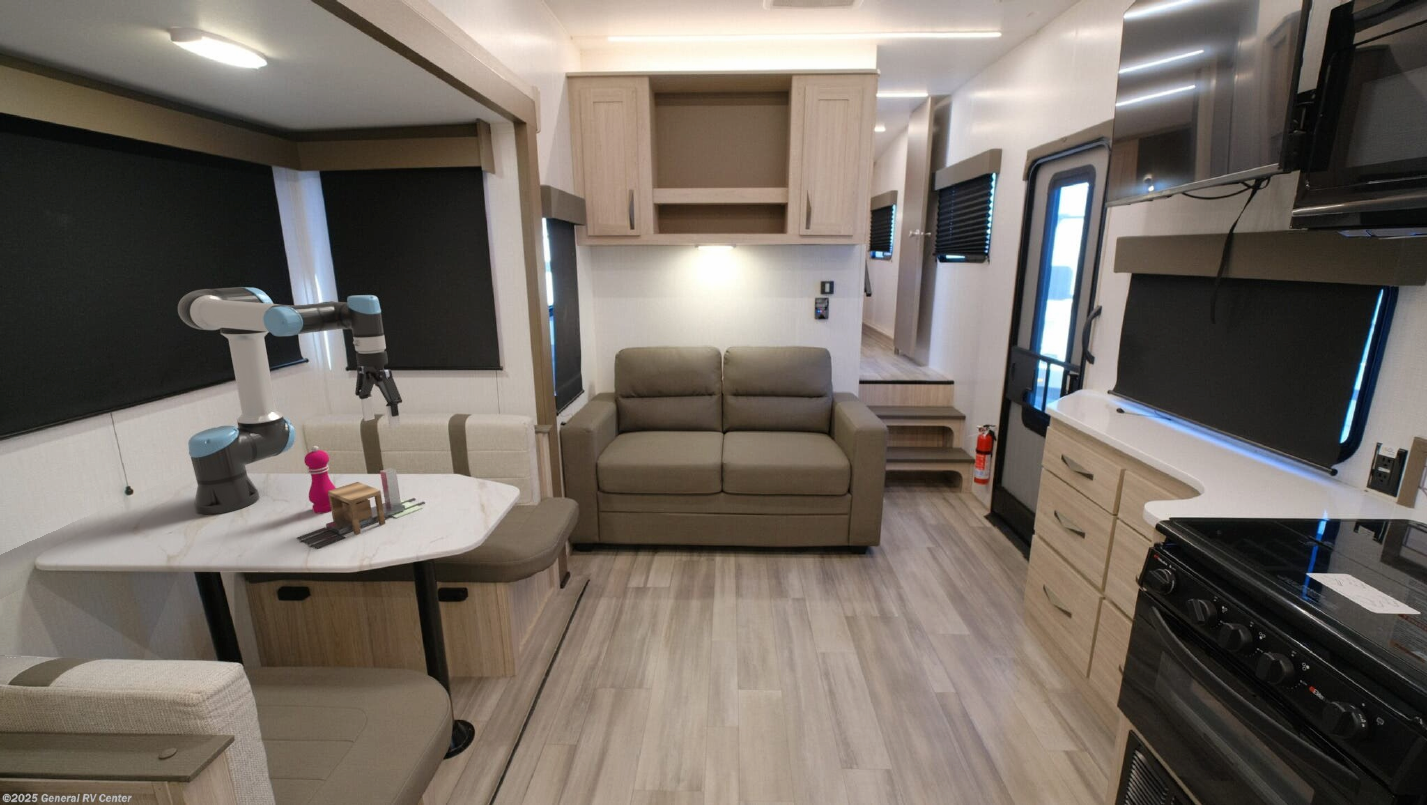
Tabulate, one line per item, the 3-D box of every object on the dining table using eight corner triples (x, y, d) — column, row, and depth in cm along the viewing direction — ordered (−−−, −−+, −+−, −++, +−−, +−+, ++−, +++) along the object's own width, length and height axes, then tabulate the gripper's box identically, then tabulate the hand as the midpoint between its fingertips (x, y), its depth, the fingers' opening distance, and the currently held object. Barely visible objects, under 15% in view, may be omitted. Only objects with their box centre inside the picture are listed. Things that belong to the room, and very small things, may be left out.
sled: (326, 528, 158) (318, 487, 155) (392, 504, 173) (386, 466, 170) (339, 534, 154) (332, 492, 151) (405, 509, 170) (399, 471, 167)
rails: (299, 541, 152) (299, 539, 152) (414, 499, 179) (413, 497, 178) (310, 547, 149) (310, 545, 149) (425, 503, 176) (424, 502, 175)
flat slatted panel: (297, 538, 154) (296, 537, 154) (325, 528, 160) (324, 527, 160) (317, 549, 148) (317, 548, 148) (345, 538, 154) (345, 537, 154)
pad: (375, 509, 171) (375, 508, 171) (401, 500, 178) (401, 499, 178) (396, 518, 166) (396, 517, 166) (422, 508, 172) (422, 507, 172)
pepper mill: (325, 515, 168) (314, 451, 163) (305, 512, 169) (293, 449, 164) (345, 504, 174) (335, 443, 169) (325, 502, 176) (314, 441, 171)
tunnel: (333, 524, 162) (327, 491, 159) (362, 513, 169) (357, 481, 166) (356, 534, 156) (350, 500, 153) (385, 523, 162) (380, 490, 160)
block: (344, 518, 161) (341, 502, 160) (362, 512, 165) (360, 496, 164) (354, 523, 158) (351, 506, 157) (372, 516, 162) (369, 500, 161)
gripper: (334, 349, 163) (346, 419, 169) (381, 357, 151) (393, 433, 156) (361, 345, 170) (372, 414, 175) (409, 353, 157) (419, 426, 162)
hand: (382, 423), depth 165 cm, fingers open, 13 cm apart
